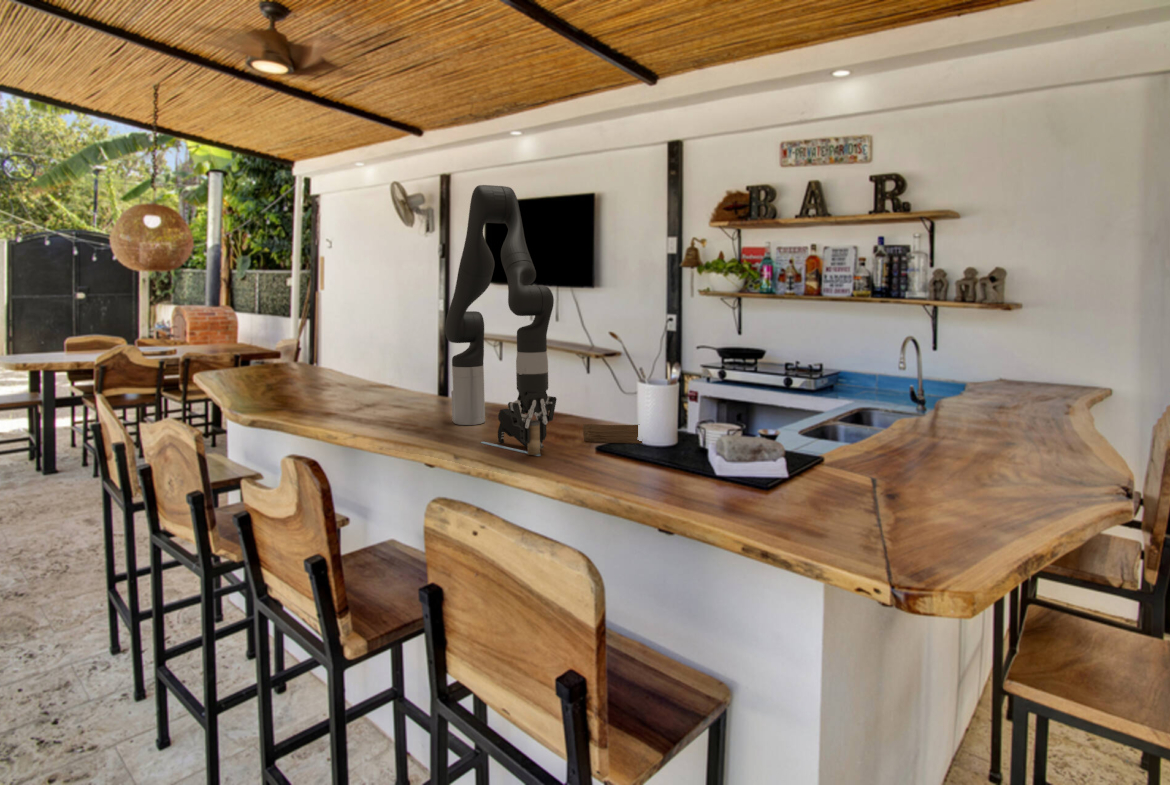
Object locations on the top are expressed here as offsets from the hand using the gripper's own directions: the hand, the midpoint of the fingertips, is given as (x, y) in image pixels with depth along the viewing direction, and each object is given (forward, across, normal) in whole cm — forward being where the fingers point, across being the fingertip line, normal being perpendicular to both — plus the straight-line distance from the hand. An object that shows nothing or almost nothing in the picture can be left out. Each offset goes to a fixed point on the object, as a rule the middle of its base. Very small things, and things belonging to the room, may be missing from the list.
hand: (533, 441), depth 166 cm
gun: (+4, -4, -9) cm, 10 cm away
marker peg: (+3, 0, 0) cm, 3 cm away
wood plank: (+4, -23, +5) cm, 24 cm away
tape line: (+3, 0, -9) cm, 10 cm away
